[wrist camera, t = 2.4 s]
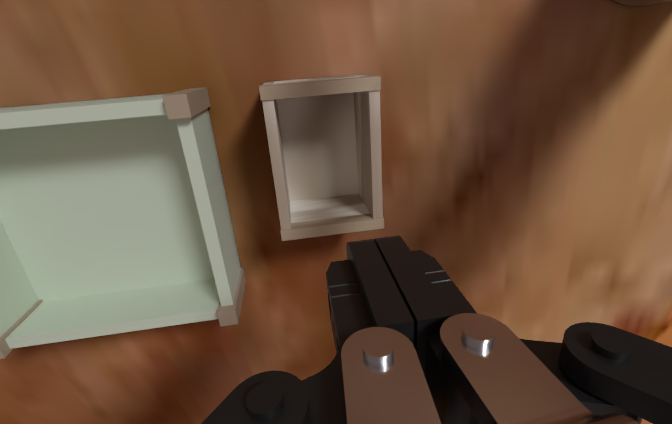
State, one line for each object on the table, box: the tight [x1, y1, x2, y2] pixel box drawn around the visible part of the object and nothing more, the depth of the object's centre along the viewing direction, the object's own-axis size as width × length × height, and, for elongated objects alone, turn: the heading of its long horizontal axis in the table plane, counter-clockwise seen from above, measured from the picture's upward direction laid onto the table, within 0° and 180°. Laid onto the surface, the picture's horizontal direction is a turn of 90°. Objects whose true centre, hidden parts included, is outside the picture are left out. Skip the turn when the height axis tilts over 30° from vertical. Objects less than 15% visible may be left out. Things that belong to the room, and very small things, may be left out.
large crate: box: [0, 87, 246, 359], centre depth 23 cm, size 16×15×5 cm
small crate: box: [259, 74, 384, 241], centre depth 23 cm, size 6×9×6 cm
